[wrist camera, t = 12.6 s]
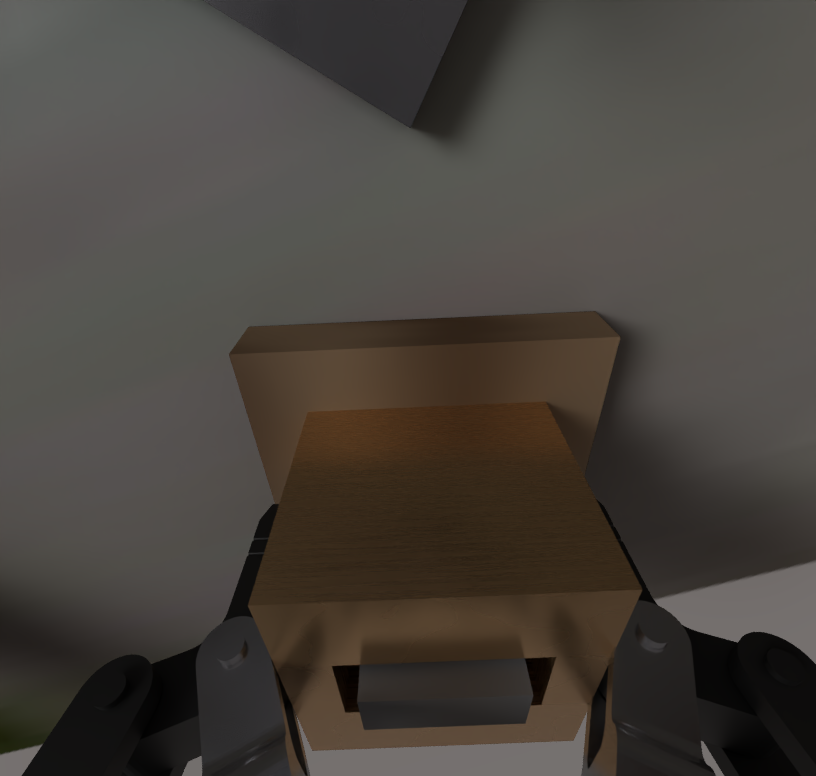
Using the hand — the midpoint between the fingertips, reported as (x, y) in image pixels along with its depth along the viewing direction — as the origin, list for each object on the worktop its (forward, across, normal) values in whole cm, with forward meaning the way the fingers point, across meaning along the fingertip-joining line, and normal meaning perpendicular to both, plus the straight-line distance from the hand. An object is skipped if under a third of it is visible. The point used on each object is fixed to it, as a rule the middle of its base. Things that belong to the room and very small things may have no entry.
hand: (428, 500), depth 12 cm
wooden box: (+2, 0, 0) cm, 2 cm away
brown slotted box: (0, 0, 0) cm, 0 cm away
